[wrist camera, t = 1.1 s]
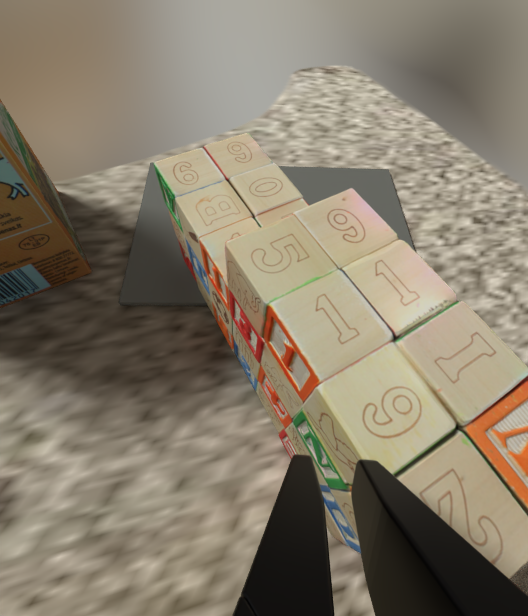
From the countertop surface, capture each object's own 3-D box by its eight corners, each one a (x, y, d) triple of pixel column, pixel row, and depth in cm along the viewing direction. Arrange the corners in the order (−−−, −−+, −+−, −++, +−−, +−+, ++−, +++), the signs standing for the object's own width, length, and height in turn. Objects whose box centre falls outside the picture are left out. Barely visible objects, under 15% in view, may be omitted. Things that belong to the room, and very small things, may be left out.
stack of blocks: (180, 260, 26) (134, 103, 15) (249, 232, 28) (251, 74, 17) (333, 540, 18) (472, 635, 7) (417, 476, 20) (634, 474, 9)
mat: (429, 306, 26) (432, 304, 25) (120, 305, 24) (118, 302, 24) (387, 172, 34) (388, 169, 33) (151, 166, 32) (150, 162, 32)
